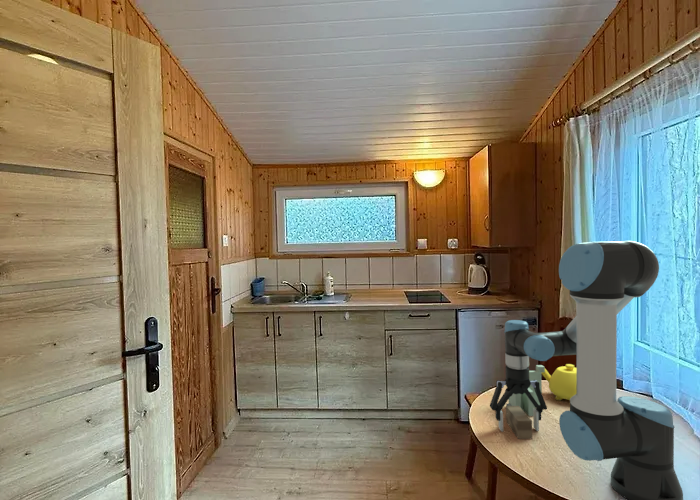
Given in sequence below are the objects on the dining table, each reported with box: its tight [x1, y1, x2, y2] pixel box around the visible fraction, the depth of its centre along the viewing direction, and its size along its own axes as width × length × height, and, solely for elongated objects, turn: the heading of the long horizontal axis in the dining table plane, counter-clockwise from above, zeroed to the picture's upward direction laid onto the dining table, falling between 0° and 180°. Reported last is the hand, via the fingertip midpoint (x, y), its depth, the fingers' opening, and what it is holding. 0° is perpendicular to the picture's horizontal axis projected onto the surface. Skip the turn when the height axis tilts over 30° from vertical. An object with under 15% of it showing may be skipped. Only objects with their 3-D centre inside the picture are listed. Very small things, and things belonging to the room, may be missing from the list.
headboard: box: [508, 364, 546, 417], centre depth 156 cm, size 9×13×16 cm
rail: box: [505, 402, 533, 440], centre depth 143 cm, size 16×4×6 cm, turn 177°
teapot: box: [541, 363, 577, 401], centre depth 168 cm, size 20×16×14 cm
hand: (518, 429), depth 141 cm, fingers open, 11 cm apart
